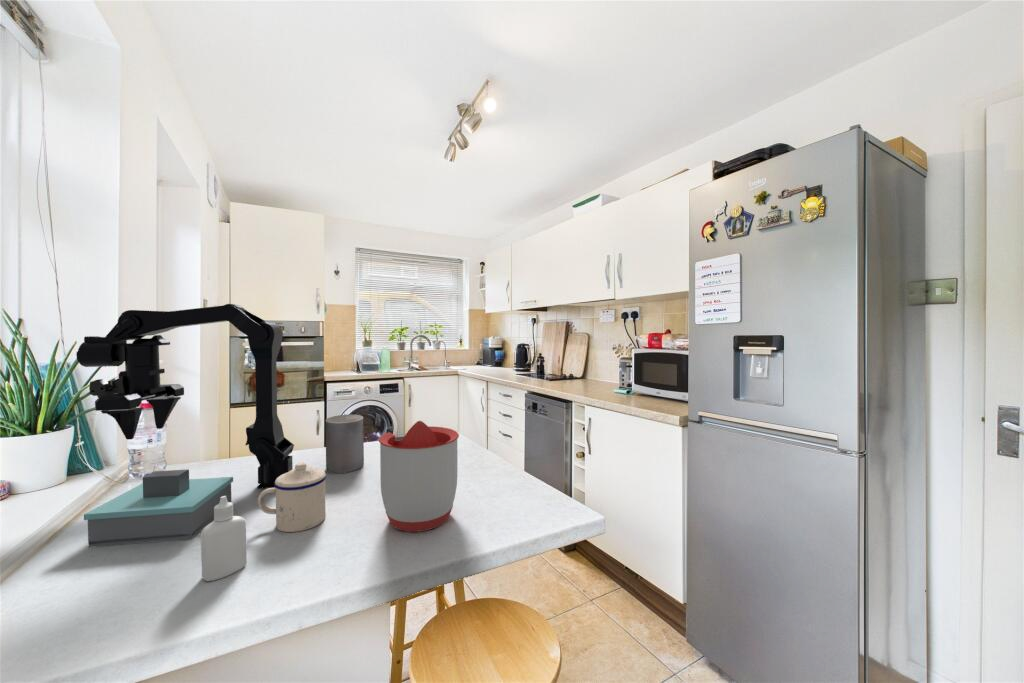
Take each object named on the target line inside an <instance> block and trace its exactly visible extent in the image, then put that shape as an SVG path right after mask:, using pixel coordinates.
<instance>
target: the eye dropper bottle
mask: <svg viewBox="0 0 1024 683" xmlns="http://www.w3.org/2000/svg"><path fill="white" fill-rule="evenodd" d="M200 533H201V534H200V551H201V552H200V553H201V555H200V556H201V559H200V560H201V577H202V579H203V580H204V581H206V582H212V581H216V580H220V579H223V578H225V577H228V576H230V575H233V574H235V573H237V572H238V571H241V570H242V569H243V568H244V567H246V566H247V561H248V559H247V558H248V557H247V522H246V519H245V518H244V517H242V516H239V515H234V503H233V502H232V501H231V502H228V501H227V498H226V496H222V497H221V498H220V503H219V504H218V505H216V506H215V507H214V520H213V521H212V522H211V523H210V524H209V525H207V526H206V527H205V528H204V529H203V530H202V531H200Z"/></svg>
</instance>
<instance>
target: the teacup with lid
mask: <svg viewBox="0 0 1024 683" xmlns="http://www.w3.org/2000/svg"><path fill="white" fill-rule="evenodd" d="M326 479H327V474H326V472H325V471H324V470H322V469H320V468H313V467H310V466H307V463H306V462H297V463H296V464H295V465H294V468H293V469H292V470H290V471H289V472H287V473H285V474H282V475H281V476H279V477H278V478H277V479H276V481H275V483H274V486H275V487H276V488H265V489H264V490H263V491H262V492H260V494H259V495H258V498H257V503H258V507H259V509H260V510H261V511H262V512H263V513H265V514H268V515H275V521H276V522H275V524H276V526H275V527H276V528H277V529H278V530H279V531H281V532H284V533H296V532H303V531H307V530H310V529H312V528H314V527H316V526H318V525H320V524H321V523H323V521H324V520H325V518H326V515H327V514H326ZM271 493H275V508H270V507H268V506H266V504H265V502H264V496H265V495H267V494H271Z"/></svg>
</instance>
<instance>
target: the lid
mask: <svg viewBox="0 0 1024 683" xmlns="http://www.w3.org/2000/svg"><path fill="white" fill-rule="evenodd" d="M230 483H231V484H232V483H234V476H225V477H224V476H223V477H211V478H210V477H206V478H194V479H193V478H190V469H175V470H174V469H173V470H172V469H171V470H155V471H153V472H150V473H149V474H146V475H145V476H142V483H140V484H139V485H137V486H135V487H133V488H131V489H130V490H127V491H125V492H123V493H121V494H120V495H118V496H116V497H114V498H113V499H111V500H108V501H106V502H105V503H102V504H101V505H99V506H97V507H96V508H93V509H91V510H89V511H88V512H85V513H84V514H83V521H88V520H92V519H106V518H120V517H133V516H147V515H160V514H174V513H187V512H193V511H195V510H196V509H197V508H199V507H200V506H201V505H203V504H204V503H205V502H207V501H208V500H209V499H211V498H212V497H213V496H215V495H216V494H217V493H219V492H220V491H221V490H223V489H224V488H225V487H226V486H228V485H229V484H230Z"/></svg>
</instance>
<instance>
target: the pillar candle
mask: <svg viewBox="0 0 1024 683" xmlns="http://www.w3.org/2000/svg"><path fill="white" fill-rule="evenodd" d="M364 440H365V439H364V416H362V415H360V414H346V413H344V414H340V415H334V416H331V417H328V418H325V470H326V472H328V473H330V474H346V473H347V474H348V473H351V472H354V471H356V470H359V469H362V468H363V467H364V465H365V458H364V454H365V453H364V450H365V449H364V448H365V447H364V444H365V443H364Z"/></svg>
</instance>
